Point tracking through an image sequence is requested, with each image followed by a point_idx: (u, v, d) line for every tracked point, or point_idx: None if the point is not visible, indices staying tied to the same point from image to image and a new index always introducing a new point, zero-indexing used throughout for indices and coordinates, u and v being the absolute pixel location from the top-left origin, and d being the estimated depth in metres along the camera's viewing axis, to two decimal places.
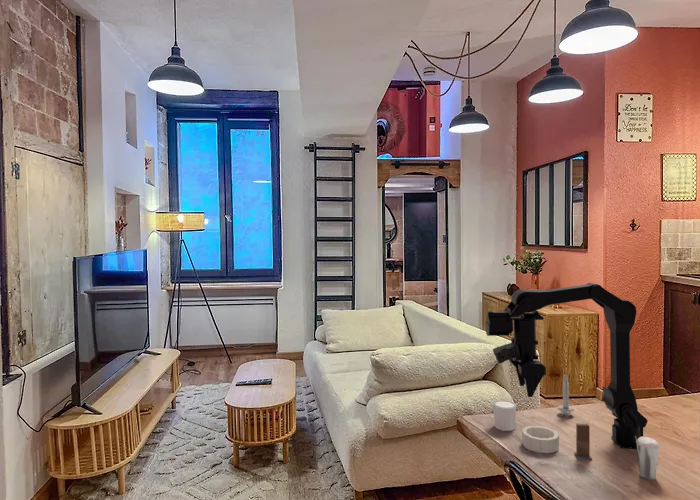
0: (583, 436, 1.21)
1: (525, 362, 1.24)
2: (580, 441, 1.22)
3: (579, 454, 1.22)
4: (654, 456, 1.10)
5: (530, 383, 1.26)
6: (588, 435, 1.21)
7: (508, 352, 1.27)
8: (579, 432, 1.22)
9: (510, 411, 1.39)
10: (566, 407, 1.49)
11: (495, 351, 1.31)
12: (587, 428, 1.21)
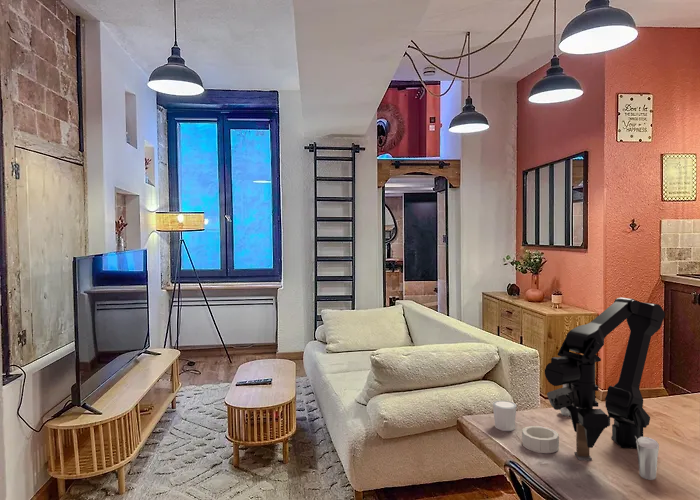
0: (583, 436, 1.21)
1: (587, 411, 1.15)
2: (580, 441, 1.22)
3: (579, 454, 1.22)
4: (654, 456, 1.10)
5: (591, 433, 1.16)
6: None
7: (566, 399, 1.18)
8: (579, 432, 1.22)
9: (510, 411, 1.39)
10: None
11: (551, 396, 1.22)
12: None
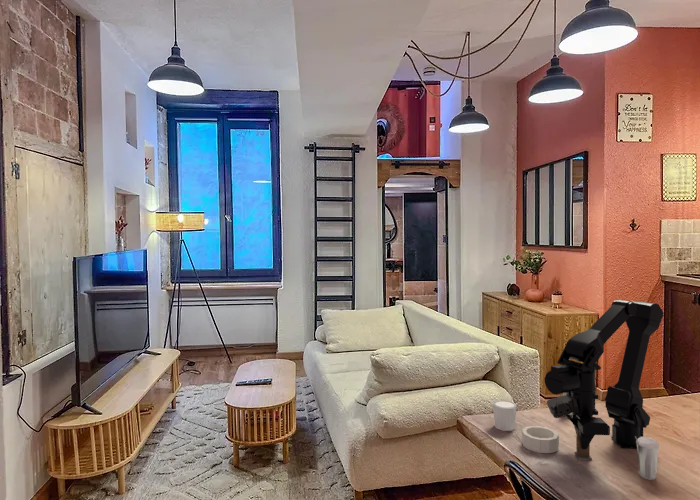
0: None
1: (586, 420, 1.15)
2: None
3: (579, 454, 1.22)
4: (654, 456, 1.10)
5: (585, 435, 1.20)
6: None
7: (566, 407, 1.18)
8: None
9: (510, 411, 1.39)
10: None
11: (550, 404, 1.22)
12: None
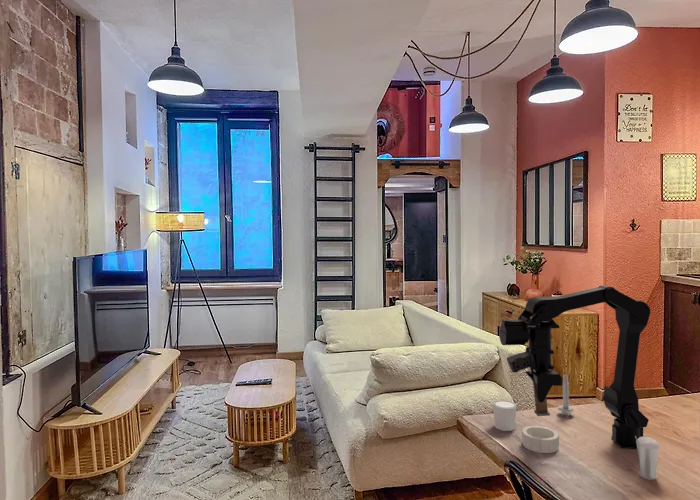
0: None
1: (541, 372, 1.21)
2: (537, 398, 1.28)
3: (538, 411, 1.28)
4: (654, 456, 1.10)
5: (541, 388, 1.27)
6: None
7: (523, 361, 1.25)
8: (536, 390, 1.28)
9: (510, 411, 1.39)
10: (566, 407, 1.49)
11: (509, 360, 1.28)
12: None
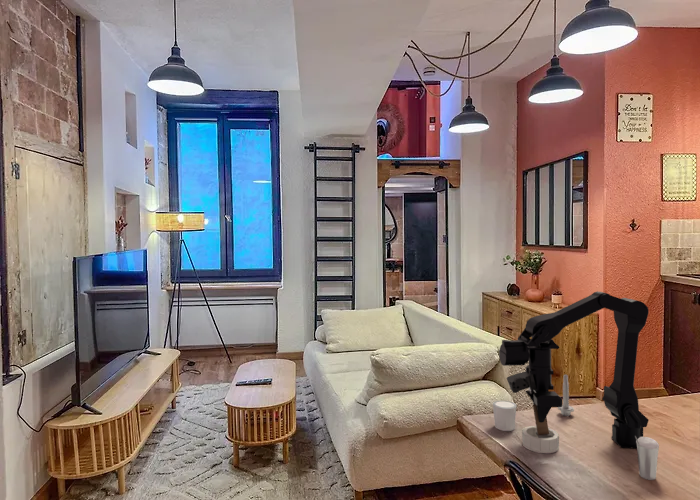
0: None
1: (541, 393, 1.22)
2: (538, 421, 1.28)
3: (539, 433, 1.29)
4: (654, 456, 1.10)
5: (541, 408, 1.27)
6: None
7: (523, 382, 1.25)
8: (536, 412, 1.28)
9: (510, 411, 1.39)
10: (566, 407, 1.49)
11: (509, 380, 1.29)
12: None
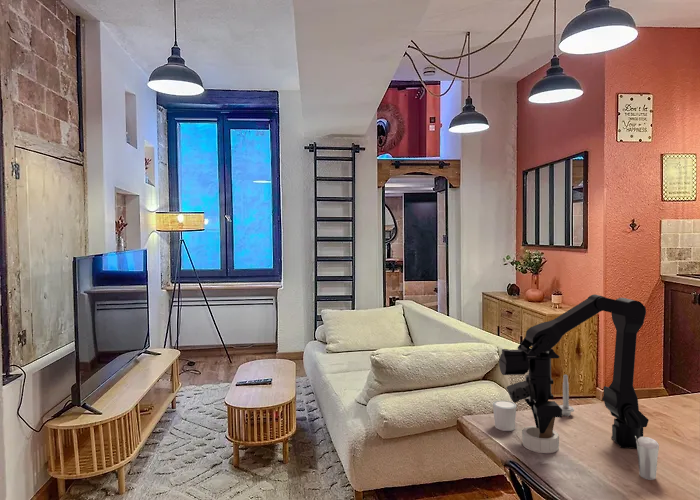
0: None
1: (541, 403, 1.22)
2: None
3: None
4: (654, 456, 1.10)
5: (542, 419, 1.26)
6: (553, 423, 1.28)
7: (523, 392, 1.25)
8: None
9: (510, 411, 1.39)
10: (566, 407, 1.49)
11: (509, 389, 1.29)
12: None
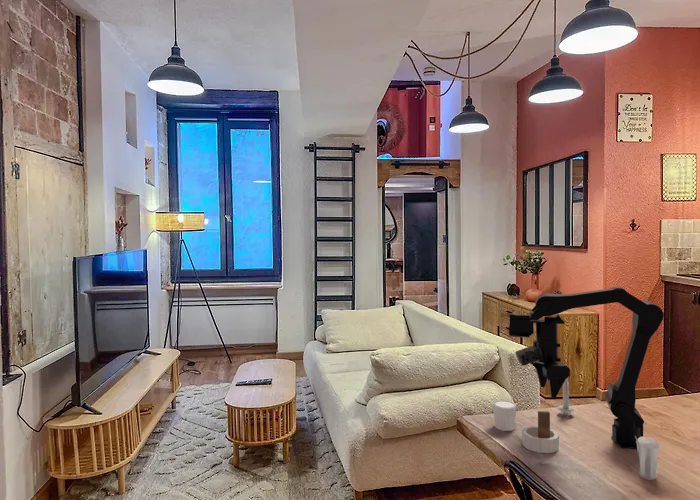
0: (544, 423, 1.28)
1: (550, 364, 1.28)
2: (541, 428, 1.28)
3: None
4: (654, 456, 1.10)
5: (554, 384, 1.30)
6: (549, 422, 1.28)
7: (532, 355, 1.32)
8: (540, 419, 1.28)
9: (510, 411, 1.39)
10: (566, 407, 1.49)
11: (518, 354, 1.35)
12: (547, 415, 1.28)
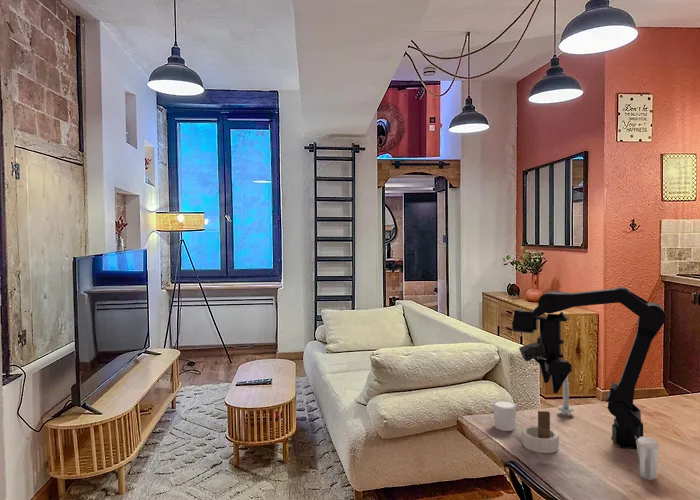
0: (544, 423, 1.28)
1: (552, 360, 1.32)
2: (541, 428, 1.28)
3: None
4: (654, 456, 1.10)
5: (556, 380, 1.33)
6: (549, 422, 1.28)
7: (535, 351, 1.35)
8: (540, 419, 1.28)
9: (510, 411, 1.39)
10: (566, 407, 1.49)
11: (522, 349, 1.39)
12: (547, 415, 1.28)
